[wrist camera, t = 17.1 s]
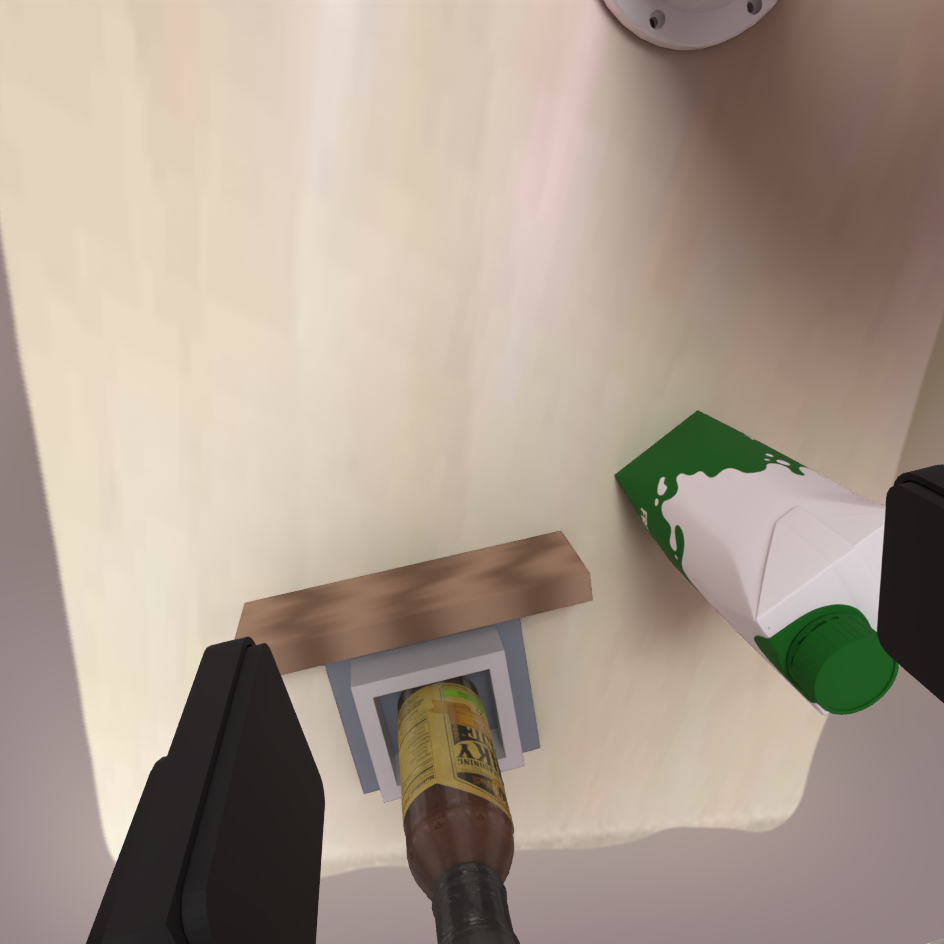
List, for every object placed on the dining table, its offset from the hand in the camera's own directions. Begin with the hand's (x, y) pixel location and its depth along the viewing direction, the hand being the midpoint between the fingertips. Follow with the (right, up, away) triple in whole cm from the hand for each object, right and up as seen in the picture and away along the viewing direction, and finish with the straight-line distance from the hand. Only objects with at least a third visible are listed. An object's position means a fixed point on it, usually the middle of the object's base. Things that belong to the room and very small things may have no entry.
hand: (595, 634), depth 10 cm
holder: (-5, -14, +39) cm, 42 cm away
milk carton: (+13, +2, +37) cm, 39 cm away
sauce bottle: (-4, -14, +39) cm, 42 cm away
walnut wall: (-6, -5, +36) cm, 37 cm away
